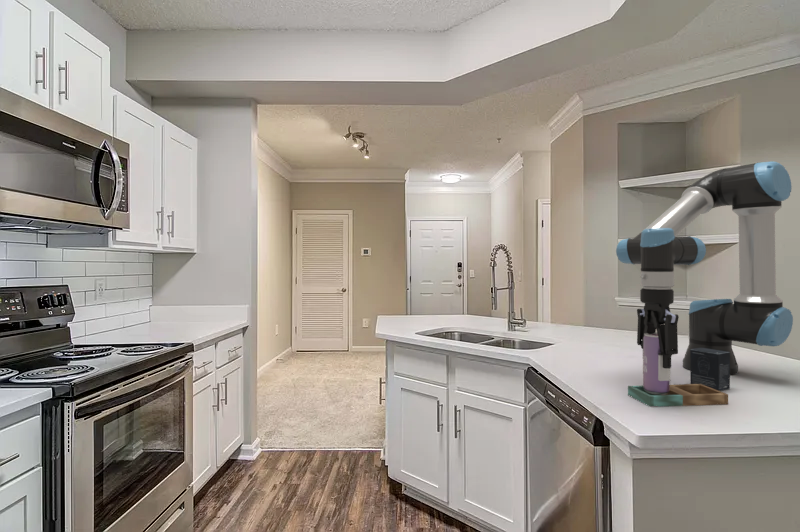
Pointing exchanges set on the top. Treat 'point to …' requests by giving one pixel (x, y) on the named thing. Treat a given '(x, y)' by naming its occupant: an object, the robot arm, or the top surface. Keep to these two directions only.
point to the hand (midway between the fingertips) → (656, 376)
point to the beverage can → (652, 366)
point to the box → (710, 368)
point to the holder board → (680, 396)
